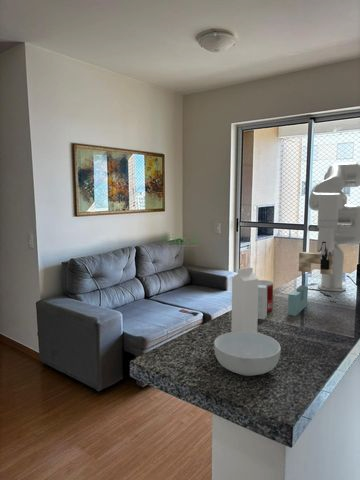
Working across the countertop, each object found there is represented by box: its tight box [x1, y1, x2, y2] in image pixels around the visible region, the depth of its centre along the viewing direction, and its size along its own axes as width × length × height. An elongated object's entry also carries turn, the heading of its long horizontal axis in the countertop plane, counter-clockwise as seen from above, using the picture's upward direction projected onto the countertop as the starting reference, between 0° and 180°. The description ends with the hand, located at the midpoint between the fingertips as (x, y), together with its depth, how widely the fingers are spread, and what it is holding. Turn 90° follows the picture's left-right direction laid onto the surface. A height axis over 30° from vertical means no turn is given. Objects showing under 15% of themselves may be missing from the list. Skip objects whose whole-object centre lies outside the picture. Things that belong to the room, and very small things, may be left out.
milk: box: [230, 267, 259, 333], centre depth 114 cm, size 6×6×22 cm
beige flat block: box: [298, 251, 333, 275], centre depth 148 cm, size 13×3×8 cm, turn 56°
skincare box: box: [258, 285, 268, 320], centre depth 132 cm, size 6×4×12 cm
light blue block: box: [287, 285, 309, 317], centre depth 141 cm, size 16×3×8 cm, turn 146°
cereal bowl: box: [213, 331, 282, 377], centre depth 92 cm, size 17×17×7 cm
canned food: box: [258, 279, 274, 313], centre depth 141 cm, size 8×8×11 cm
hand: (325, 268), depth 146 cm, fingers closed on beige flat block, 3 cm apart
